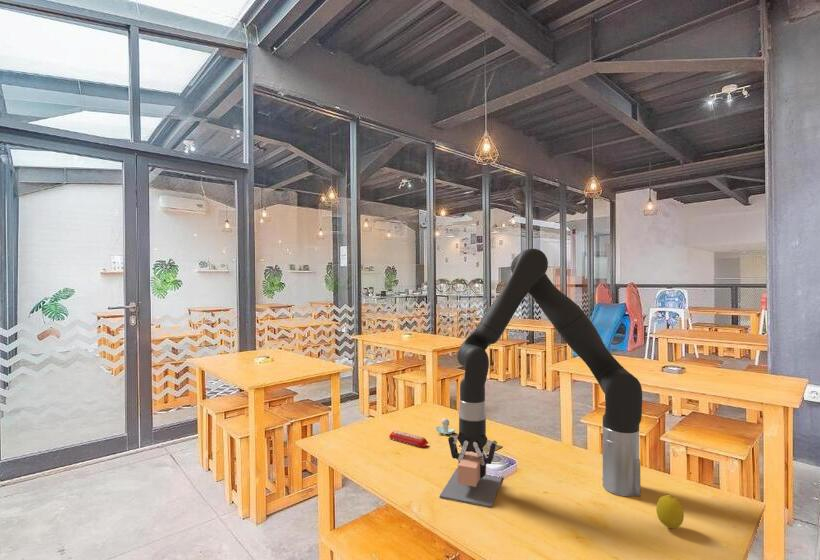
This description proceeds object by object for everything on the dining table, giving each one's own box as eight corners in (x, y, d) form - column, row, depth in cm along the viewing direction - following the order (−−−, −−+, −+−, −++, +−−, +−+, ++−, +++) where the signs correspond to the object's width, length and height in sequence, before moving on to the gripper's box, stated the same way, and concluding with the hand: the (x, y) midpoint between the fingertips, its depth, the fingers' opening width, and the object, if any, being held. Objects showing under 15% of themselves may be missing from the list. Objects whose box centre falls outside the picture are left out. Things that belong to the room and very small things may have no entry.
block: (457, 465, 116) (468, 448, 127) (457, 483, 116) (468, 465, 127) (475, 468, 114) (485, 451, 125) (475, 486, 114) (484, 468, 126)
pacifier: (440, 430, 167) (434, 434, 162) (441, 413, 167) (434, 417, 162) (458, 433, 164) (452, 437, 159) (458, 416, 164) (452, 420, 159)
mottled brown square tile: (504, 447, 150) (504, 444, 150) (485, 458, 141) (485, 455, 141) (475, 439, 158) (475, 436, 158) (455, 449, 149) (455, 446, 149)
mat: (502, 477, 127) (502, 475, 127) (491, 507, 110) (491, 505, 110) (456, 469, 132) (456, 468, 132) (439, 497, 115) (439, 495, 115)
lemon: (673, 521, 104) (673, 488, 104) (689, 535, 98) (689, 500, 98) (651, 522, 104) (651, 489, 104) (665, 536, 98) (665, 501, 98)
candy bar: (387, 439, 157) (387, 431, 157) (393, 436, 160) (393, 428, 160) (423, 449, 148) (423, 441, 148) (429, 446, 151) (429, 437, 151)
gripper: (500, 414, 122) (499, 473, 122) (451, 408, 127) (451, 465, 127) (495, 422, 115) (495, 485, 115) (444, 416, 120) (444, 476, 120)
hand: (472, 474), depth 121 cm, fingers closed on block, 5 cm apart
